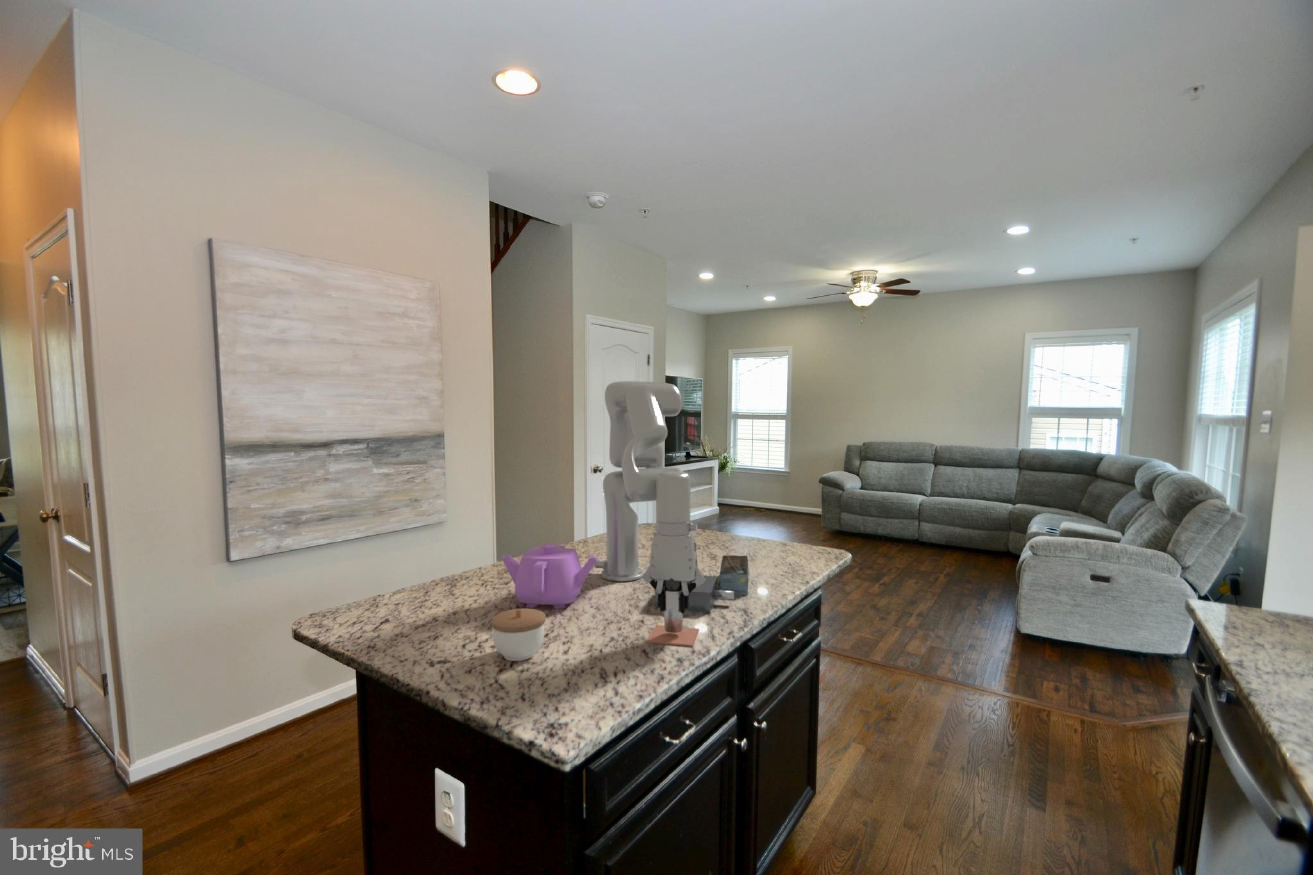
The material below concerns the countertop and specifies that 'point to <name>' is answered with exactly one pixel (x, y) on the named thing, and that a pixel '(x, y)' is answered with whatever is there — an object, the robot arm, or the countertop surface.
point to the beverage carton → (734, 574)
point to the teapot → (548, 575)
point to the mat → (673, 636)
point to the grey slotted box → (704, 595)
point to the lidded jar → (518, 633)
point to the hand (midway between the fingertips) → (673, 609)
